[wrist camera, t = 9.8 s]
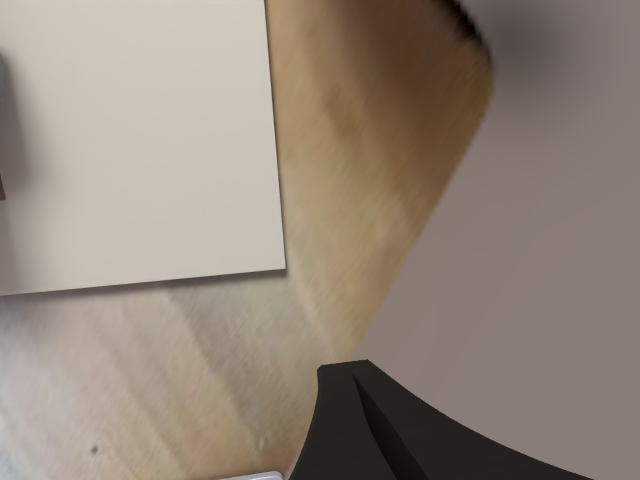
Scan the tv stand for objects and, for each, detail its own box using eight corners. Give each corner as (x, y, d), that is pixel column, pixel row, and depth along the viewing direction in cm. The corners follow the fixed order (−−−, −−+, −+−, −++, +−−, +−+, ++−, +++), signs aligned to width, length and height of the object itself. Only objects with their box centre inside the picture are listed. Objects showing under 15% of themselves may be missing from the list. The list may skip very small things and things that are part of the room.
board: (284, 264, 19) (285, 268, 19) (-118, 302, 17) (-131, 308, 17) (252, -133, 16) (252, -144, 15) (-259, -145, 14) (-282, -159, 13)
